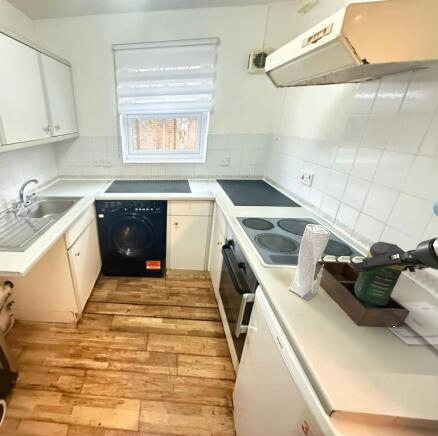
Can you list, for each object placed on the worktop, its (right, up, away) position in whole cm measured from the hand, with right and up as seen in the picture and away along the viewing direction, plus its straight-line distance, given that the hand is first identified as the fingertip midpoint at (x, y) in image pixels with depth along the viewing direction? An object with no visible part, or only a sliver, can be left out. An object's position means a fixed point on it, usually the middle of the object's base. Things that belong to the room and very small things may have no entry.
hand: (370, 268), depth 77 cm
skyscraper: (-16, -11, +12) cm, 22 cm away
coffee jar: (0, -9, 0) cm, 9 cm away
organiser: (0, -12, +9) cm, 15 cm away
